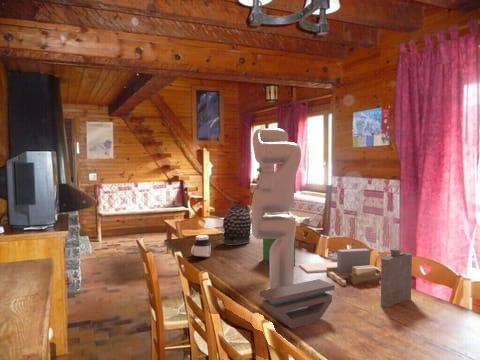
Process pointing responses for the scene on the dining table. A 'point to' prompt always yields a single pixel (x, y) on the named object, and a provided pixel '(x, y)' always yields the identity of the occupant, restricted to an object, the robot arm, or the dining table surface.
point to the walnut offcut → (363, 279)
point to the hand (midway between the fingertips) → (266, 205)
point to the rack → (343, 275)
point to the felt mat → (317, 267)
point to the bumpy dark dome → (237, 225)
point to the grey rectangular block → (352, 259)
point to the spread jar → (201, 247)
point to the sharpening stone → (298, 302)
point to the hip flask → (395, 278)
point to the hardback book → (267, 245)
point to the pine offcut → (363, 270)
